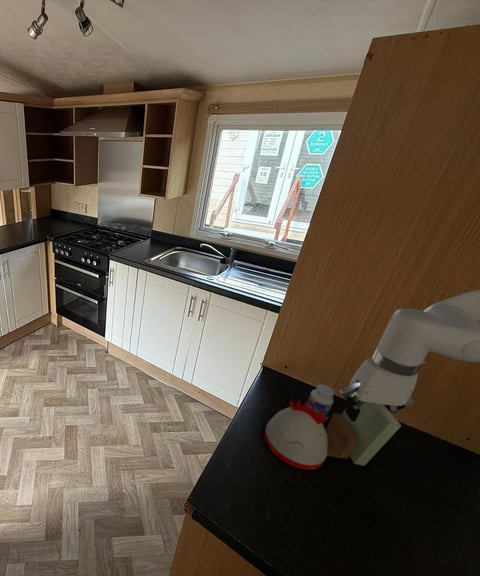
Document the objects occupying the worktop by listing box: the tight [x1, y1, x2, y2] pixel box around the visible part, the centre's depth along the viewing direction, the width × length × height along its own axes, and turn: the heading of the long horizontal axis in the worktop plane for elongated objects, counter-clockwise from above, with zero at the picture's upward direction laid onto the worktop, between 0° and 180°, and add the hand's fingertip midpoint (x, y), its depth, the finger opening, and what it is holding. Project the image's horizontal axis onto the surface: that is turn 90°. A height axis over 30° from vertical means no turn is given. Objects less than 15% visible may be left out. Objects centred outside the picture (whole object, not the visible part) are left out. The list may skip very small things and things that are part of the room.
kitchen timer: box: [263, 399, 330, 471], centre depth 79 cm, size 14×14×15 cm
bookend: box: [325, 413, 358, 460], centre depth 81 cm, size 5×8×7 cm, turn 170°
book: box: [341, 399, 402, 467], centre depth 78 cm, size 15×11×2 cm
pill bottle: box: [307, 384, 335, 418], centre depth 89 cm, size 5×5×10 cm
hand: (364, 418), depth 77 cm, fingers open, 5 cm apart
